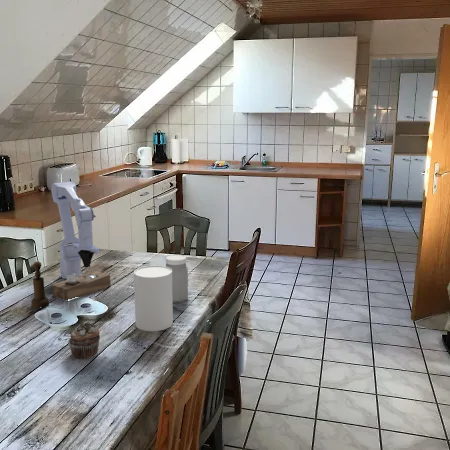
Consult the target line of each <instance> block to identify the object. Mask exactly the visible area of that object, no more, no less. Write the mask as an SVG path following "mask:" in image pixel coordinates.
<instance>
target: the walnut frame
mask: <svg viewBox="0 0 450 450" xmlns="http://www.w3.org/2000/svg"><path fill="white" fill-rule="evenodd" d="M87 275H96V277H95V278H93V279H88V278H86V276H87ZM111 284H112V283H111V274H109V273H105V272H100V271H97V270H92V271H89V272H86V273H83V275H80V276H78V284H76V285H73V286H71V285H67V279H65V280H63V281H60V282H57V283H54V284H52V285H51V287H52V289H51V291H52V297H53V296H55V297H54V298H56V297H58V298H57V299H59V298H61V300H63V299H64V300H63V301H66V300H68V299H72V298H75V297H79V298H82V297H84V296H87V295H89V294H92V293H95V292H97V291H100V290H102V289H105V288H109V287H111Z"/></svg>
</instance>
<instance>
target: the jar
mask: <svg viewBox="0 0 450 450" xmlns="http://www.w3.org/2000/svg"><path fill="white" fill-rule="evenodd" d="M165 267H169V268H171V269H172V304H177V303H178V304H179V303H184V302H185V301H187V299H188V297H189V276H188V275H189V273H188V272H189V267H188V266H187V257H186V256H185V255H182V254H171V255H170V254H169V255H168V256H166V257H165Z"/></svg>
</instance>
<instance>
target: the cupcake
mask: <svg viewBox="0 0 450 450" xmlns="http://www.w3.org/2000/svg"><path fill="white" fill-rule="evenodd" d="M100 338H101V336H100V330H98V329H97V328H96V326H95V325H94V324H93V323H91V321H86V323H84V324H82V323H79V325H78V326H77V327H75V328H74V330H73V331H72V332H71V334H70V338H69V339H68V345H69V348H70V352H71V356H72V357H73V358H74V359H77V360H87V359H90V358H92V357H95V356H96V355H97V354H98V351H99V345H100Z"/></svg>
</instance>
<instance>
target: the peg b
mask: <svg viewBox="0 0 450 450" xmlns="http://www.w3.org/2000/svg"><path fill="white" fill-rule="evenodd" d="M95 277H96V275H87V276H86V278H88V279H93V278H95Z"/></svg>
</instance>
